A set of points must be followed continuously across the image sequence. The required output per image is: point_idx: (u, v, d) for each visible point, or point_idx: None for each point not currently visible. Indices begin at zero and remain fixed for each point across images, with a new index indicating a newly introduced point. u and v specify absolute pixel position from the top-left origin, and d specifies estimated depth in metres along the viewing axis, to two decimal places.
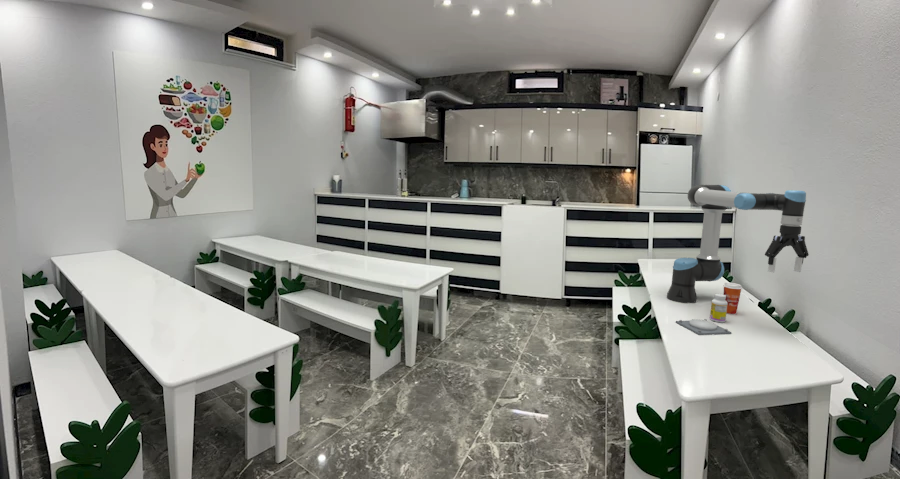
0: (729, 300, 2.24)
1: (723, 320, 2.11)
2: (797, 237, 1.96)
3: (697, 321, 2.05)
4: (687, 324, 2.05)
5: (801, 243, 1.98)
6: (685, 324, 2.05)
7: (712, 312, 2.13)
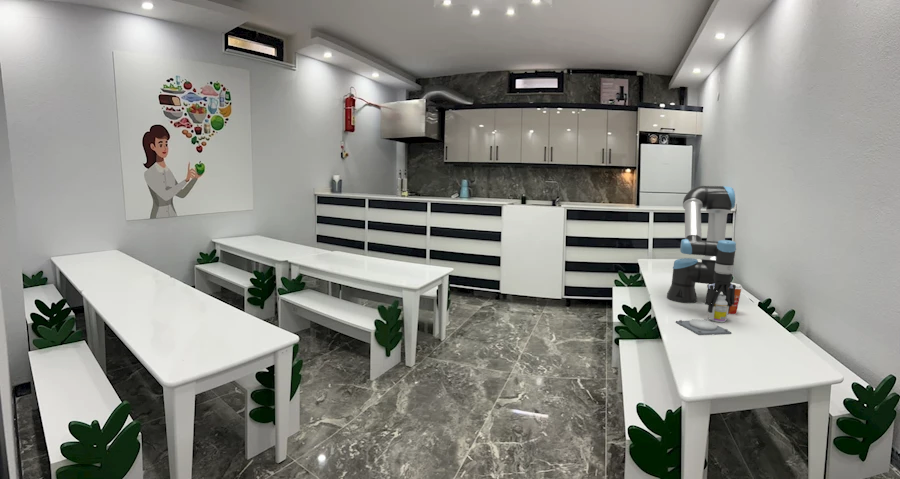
0: None
1: (723, 320, 2.11)
2: (729, 284, 2.11)
3: (697, 321, 2.05)
4: (687, 324, 2.05)
5: (731, 291, 2.12)
6: (685, 324, 2.05)
7: None
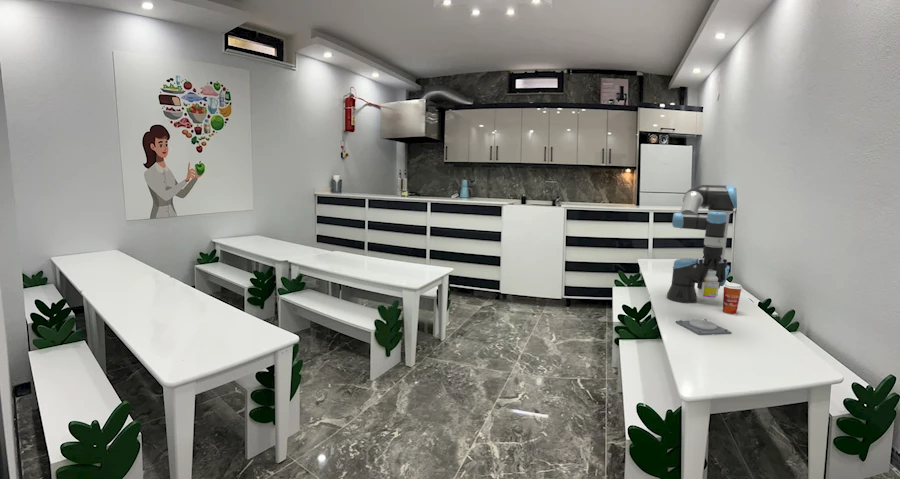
0: (729, 300, 2.24)
1: (713, 297, 1.98)
2: (720, 258, 1.98)
3: (697, 321, 2.05)
4: (687, 324, 2.05)
5: (722, 266, 2.00)
6: (685, 324, 2.05)
7: None
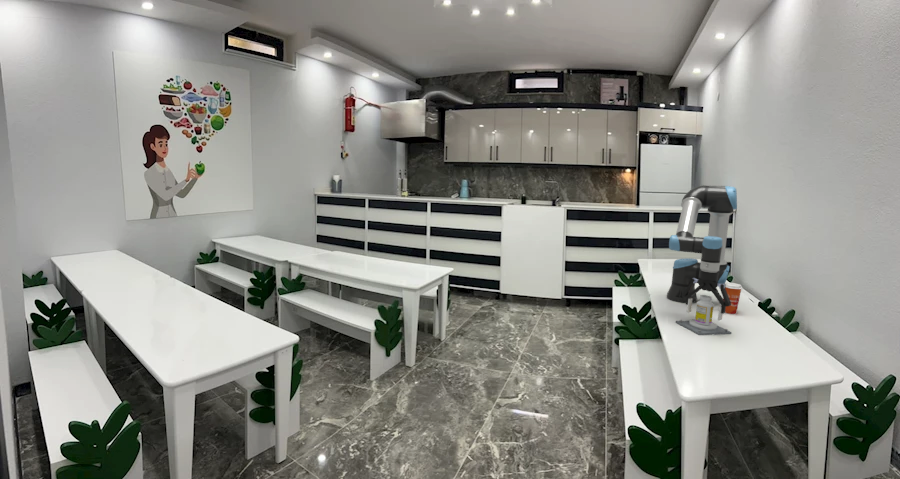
0: None
1: (701, 322, 2.01)
2: (714, 284, 1.97)
3: None
4: (687, 324, 2.05)
5: None
6: (685, 324, 2.05)
7: None
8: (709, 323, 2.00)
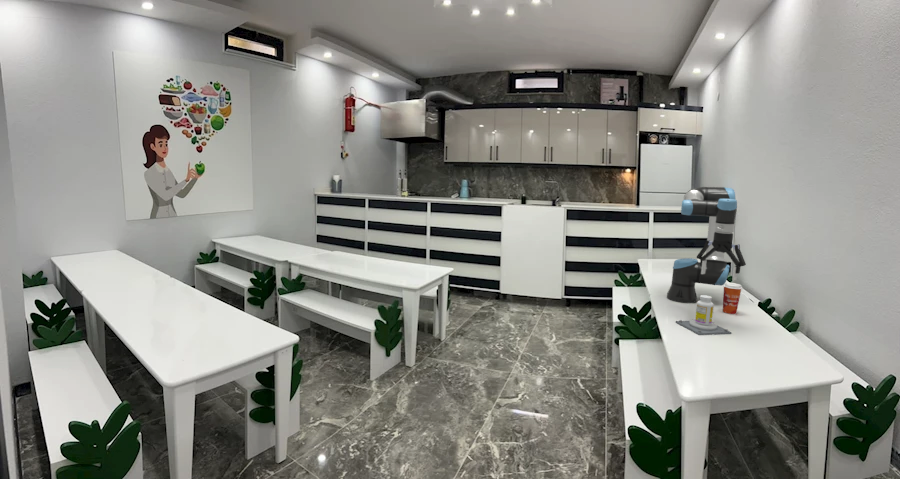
0: (729, 300, 2.24)
1: (701, 322, 2.01)
2: (728, 245, 2.01)
3: None
4: (687, 324, 2.05)
5: None
6: (685, 324, 2.05)
7: None
8: (709, 323, 2.00)
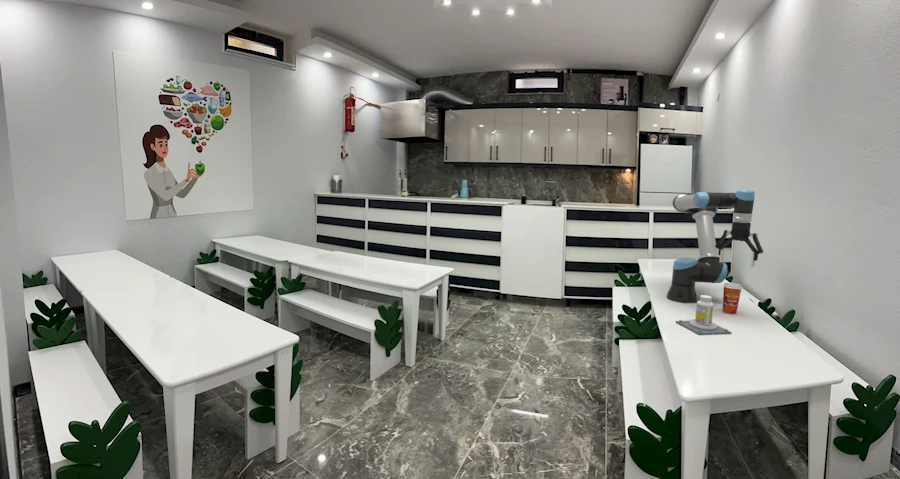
0: (729, 300, 2.24)
1: (701, 322, 2.01)
2: (746, 233, 2.11)
3: None
4: (687, 324, 2.05)
5: None
6: (685, 324, 2.05)
7: None
8: (709, 323, 2.00)
